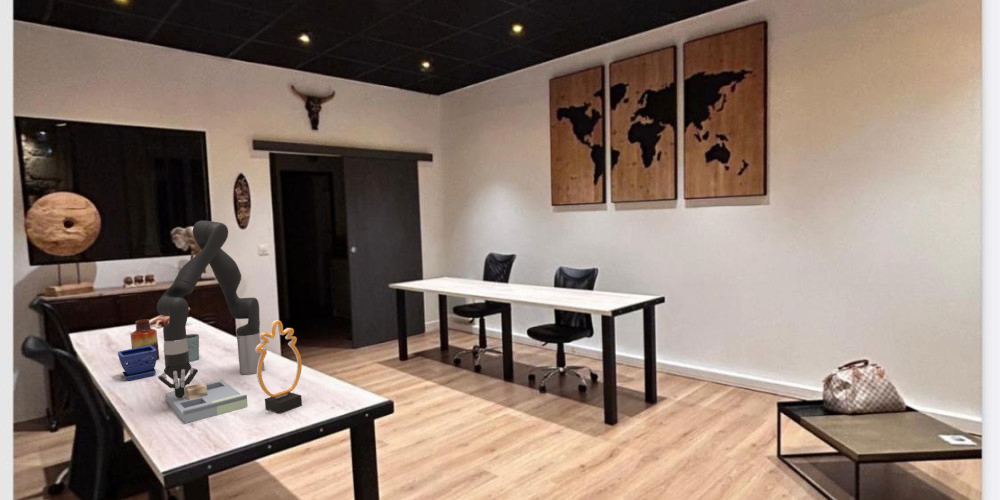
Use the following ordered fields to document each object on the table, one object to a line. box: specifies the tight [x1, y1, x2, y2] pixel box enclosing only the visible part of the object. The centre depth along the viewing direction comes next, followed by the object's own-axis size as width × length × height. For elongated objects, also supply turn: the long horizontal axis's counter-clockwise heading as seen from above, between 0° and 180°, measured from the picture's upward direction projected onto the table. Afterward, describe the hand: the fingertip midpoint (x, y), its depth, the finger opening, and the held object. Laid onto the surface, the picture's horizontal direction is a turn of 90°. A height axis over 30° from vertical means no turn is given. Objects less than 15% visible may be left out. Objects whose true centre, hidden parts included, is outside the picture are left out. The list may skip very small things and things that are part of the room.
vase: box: [130, 318, 160, 362], centre depth 258 cm, size 11×11×20 cm
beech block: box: [184, 382, 208, 400], centre depth 194 cm, size 6×6×4 cm
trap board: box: [165, 379, 249, 424], centre depth 194 cm, size 20×32×4 cm, turn 42°
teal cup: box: [186, 333, 200, 363], centre depth 256 cm, size 10×10×12 cm
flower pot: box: [117, 345, 157, 381], centre depth 232 cm, size 13×13×12 cm
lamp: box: [255, 319, 303, 415], centre depth 186 cm, size 17×9×32 cm, turn 145°
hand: (180, 397), depth 191 cm, fingers closed
